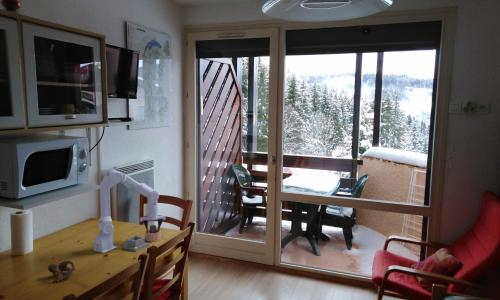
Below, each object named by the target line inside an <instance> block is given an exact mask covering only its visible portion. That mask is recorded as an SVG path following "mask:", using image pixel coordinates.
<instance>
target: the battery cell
mask: <svg viewBox="0 0 500 300" xmlns="http://www.w3.org/2000/svg"><path fill="white" fill-rule="evenodd" d="M149 229H150V233H156V229H157V225H156V224H151V225H149Z"/></svg>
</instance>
